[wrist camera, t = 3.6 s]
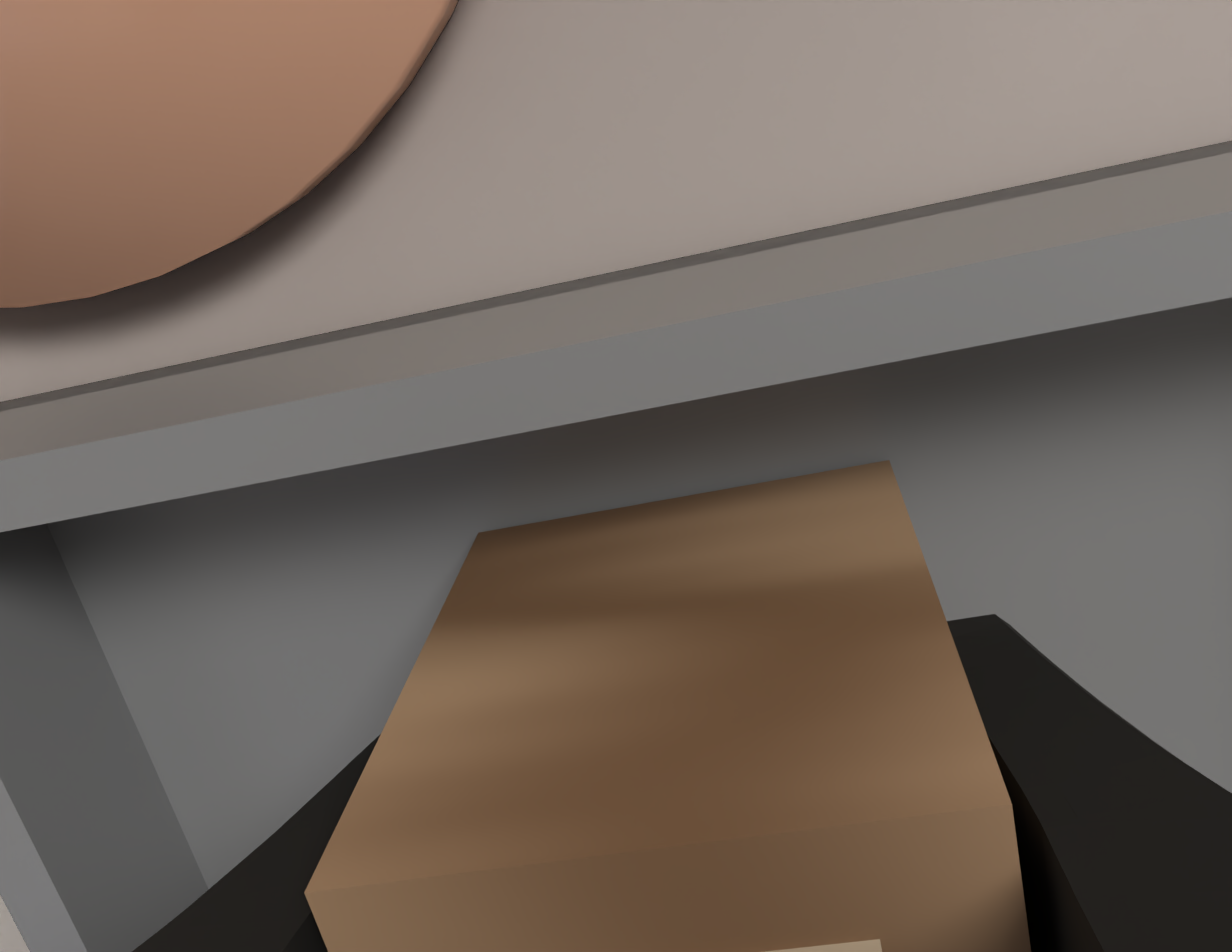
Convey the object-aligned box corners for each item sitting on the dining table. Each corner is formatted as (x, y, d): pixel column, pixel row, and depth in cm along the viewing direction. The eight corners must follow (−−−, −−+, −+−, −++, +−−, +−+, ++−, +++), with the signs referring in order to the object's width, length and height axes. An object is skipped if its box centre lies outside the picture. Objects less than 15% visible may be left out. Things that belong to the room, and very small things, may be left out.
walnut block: (574, 856, 13) (484, 1356, 8) (477, 532, 11) (298, 905, 7) (944, 809, 12) (1081, 1324, 7) (889, 460, 11) (1016, 816, 6)
